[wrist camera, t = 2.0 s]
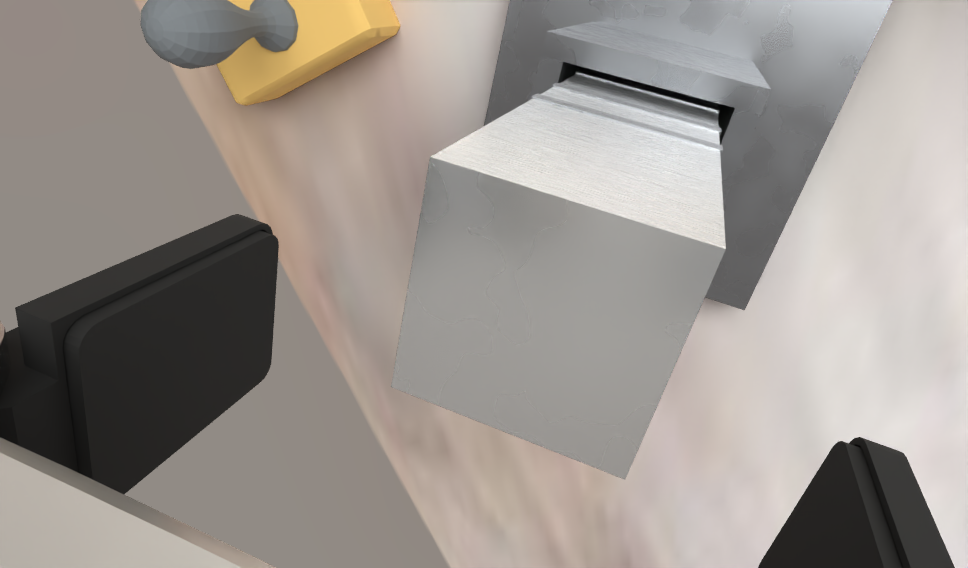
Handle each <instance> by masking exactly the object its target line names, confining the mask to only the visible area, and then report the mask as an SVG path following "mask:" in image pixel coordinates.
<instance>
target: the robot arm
mask: <svg viewBox="0 0 968 568" xmlns="http://www.w3.org/2000/svg"><path fill="white" fill-rule="evenodd" d="M278 248H279V245H278V239H277V238H276V237H275V236H274V235H273V233H272V230H271V228H270V226H269V225H267V224H265V223H262V222H259V221H256V220H253V219H250V218H248V217H245V216H242V215H239V214H236V215H232V216H229V217H227V218H225V219H222V220H220V221H218V222H215V223H213V224H211V225H208V226H206V227H204V228H201V229H199V230H197V231H194V232H192V233H189V234H187V235H185V236H182V237H180V238H178V239H175V240H173V241H171V242H168V243H166V244H164V245H161V246H159V247H157V248H154V249H152V250H150V251H147V252H145V253H143V254H140V255H138V256H135V257H133V258H131V259H128V260H126V261H124V262H122V263H119V264H117V265H114V266H112V267H110V268H107V269H105V270H103V271H100V272H98V273H96V274H93V275H91V276H89V277H86V278H84V279H82V280H79V281H77V282H75V283H72V284H70V285H68V286H65V287H63V288H60V289H58V290H56V291H53V292H51V293H49V294H46V295H44V296H42V297H39V298H37V299H35V300H32V301H30V302H28V303H25V304H23V305H21V306H18V307H16V308H15V309H16V315H17V321H18V327H17V328H15V329H13V330H11V331H9V332H5V327H4V326H3V324H2V323H1V321H0V568H276V567H274V566H272V565H270V564H268V563H266V562H264V561H262V560H260V559H258V558H256V557H254V556H251V555H249V554H247V553H245V552H243V551H241V550H239V549H237V548H235V547H233V546H230V545H229V544H226V543H224V542H222V541H220V540H218V539H216V538H214V537H212V536H210V535H208V534H206V533H203V532H201V531H199V530H197V529H195V528H193V527H191V526H189V525H186V524H185V523H182V522H180V521H178V520H176V519H174V518H172V517H170V516H168V515H166V514H163V513H161V512H159V511H157V510H155V509H153V508H151V507H149V506H147V505H145V504H142V503H140V502H138V501H136V500H134V499H132V498H130V497H128V496H125V495H124V494H125V493H126V492H128V491H129V490H130V489H131V488H132V487H133V486H135V485H136V484H137V483H138V482H140V481H141V480H142V479H143V478H144V477H146V476H147V475H148V474H149V473H151V472H152V471H153V470H154V469H155V468H156V467H158V466H159V465H160V464H162V463H163V462H164V461H165V460H166V459H167V458H169V457H170V456H171V455H172V454H174V453H175V452H176V451H177V450H178V449H180V448H181V447H182V446H183V445H185V444H186V443H187V442H188V441H189V440H191V439H192V438H193V437H194V436H196V435H197V434H198V433H199V432H200V431H202V430H203V429H204V428H205V427H206V426H208V425H209V424H210V423H211V422H212V421H214V420H215V419H216V418H217V417H219V416H220V415H221V414H222V413H223V412H225V411H226V410H227V409H228V408H230V407H231V406H232V405H233V404H234V403H235V402H237V401H238V400H239V399H240V398H242V397H243V396H244V395H245V394H246V393H248V392H249V391H250V390H251V389H253V388H254V387H255V386H256V385H258V384H259V383H260V382H261V381H262V380H263V379H264V378H265V376H266V375H267V373H268V371H269V368H270V365H271V357H272V342H273V326H274V325H273V324H274V311H275V294H276V279H277V263H278ZM758 568H955V567H954V565H953V563H952V560H951V558H950V556H949V554H948V551H947V549H946V547H945V544H944V542H943V540H942V538H941V535H940V533H939V531H938V528H937V526H936V524H935V522H934V519H933V517H932V515H931V512H930V510H929V508H928V506H927V503H926V501H925V499H924V496H923V494H922V492H921V490H920V487H919V485H918V483H917V480H916V478H915V476H914V474H913V471H912V469H911V467H910V464H909V462H908V460H907V458H906V456H905V455H904V453H902V452H900V451H897V450H894V449H892V448H889V447H886V446H883V445H880V444H878V443H875V442H872V441H869V440H866V439H864V438H861V437H858V438H854V439H853V440H852V441H851V442H850V443H849V444H848V443H845V442H843V441H840V442H838V443H836V444H835V445H834V446H833V448H832V449H831V451H830V452H829V454H828V455H827V457H826V459H825V460H824V462H823V463H822V465H821V467H820V468H819V470H818V471H817V473H816V475H815V476H814V478H813V479H812V481H811V483H810V484H809V486H808V487H807V489H806V491H805V492H804V494H803V495H802V497H801V499H800V500H799V502H798V503H797V505H796V507H795V508H794V510H793V511H792V513H791V515H790V516H789V518H788V519H787V521H786V523H785V524H784V526H783V527H782V529H781V531H780V532H779V534H778V535H777V537H776V539H775V540H774V542H773V543H772V545H771V547H770V548H769V550H768V551H767V553H766V555H765V556H764V558H763V559H762V561H761V563H760V565H759V567H758Z"/></svg>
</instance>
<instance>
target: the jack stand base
mask: <svg viewBox="0 0 968 568" xmlns="http://www.w3.org/2000/svg"><path fill="white" fill-rule="evenodd" d="M892 1H893V0H510V3H509V8H508V13H507V18H506V23H505V27H504V32H503V37H502V42H501V47H500V51H499V56H498V61H497V66H496V71H495V76H494V80H493V85H492V90H491V95H490V100H489V104H488V109H487V114H486V119H485V124H484V126H485V125H487V124H489V123H491V122H492V121H494V120H496V119H498V118H499V117H501V116H503V115H505V114H507V113H508V112H510V111H512V110H514V109H515V108H517V107H519V106H521V105H522V104H524V103H526V102H528V101H530V100H531V96H533V95H535V94H537V93H538V94H542V93H544V92H545V91H547V90H549V89H551V88H552V85H553V84H555V83H561V82H563V81H565V80H567V79H568V78H570V77H572V76H574V75H575V73H576V72H577V71H578V70H580V71H582V70H584V69H586V68H589V69H592V70H596V71H600V72H603V73H607V74H611V75H615V76H618V77H622V78H626V79H629V80H633V81H637V82H641V83H644V84H648V85H652V86H655V87H659V88H663V89H667V90H670V91H674V92H678V93H682V94H685V95H689V96H693V97H696V98H700V99H704V100H708V101H711V102H715V103H718V104H717V107H718V108H720V112H719V114H718V124H719V128H721V134H720V137H719V141H720V145H722V146H723V151H722V154H721V156H720V158H721V175H722V193H723V210H724V227H725V244H726V250H725V252H724V255H723V257H722V259H721V261H720V264H719V266H718V268H717V271H716V273H715V275H714V277H713V280H712V282H711V284H710V287H709V289H708V291H707V293H706V296H705V297H706V298H709V299H712V300H715V301H718V302H721V303H724V304H727V305H730V306H733V307H736V308H739V309H742V310H745V308H746V306H747V304H748V302H749V300H750V298H751V296H752V293H753V291H754V289H755V287H756V285H757V283H758V281H759V279H760V277H761V275H762V273H763V270H764V268H765V266H766V264H767V262H768V260H769V258H770V256H771V254H772V252H773V250H774V247H775V245H776V243H777V241H778V239H779V237H780V235H781V233H782V231H783V229H784V227H785V225H786V222H787V220H788V218H789V216H790V214H791V212H792V210H793V208H794V206H795V204H796V202H797V199H798V197H799V195H800V193H801V191H802V189H803V187H804V185H805V183H806V181H807V179H808V176H809V174H810V172H811V170H812V168H813V166H814V164H815V162H816V160H817V158H818V156H819V154H820V151H821V149H822V147H823V145H824V143H825V141H826V139H827V137H828V135H829V133H830V131H831V128H832V126H833V124H834V122H835V120H836V118H837V116H838V114H839V112H840V110H841V108H842V105H843V103H844V101H845V99H846V97H847V95H848V93H849V91H850V89H851V87H852V85H853V82H854V80H855V78H856V76H857V74H858V72H859V70H860V68H861V66H862V64H863V62H864V60H865V57H866V55H867V53H868V51H869V49H870V47H871V45H872V43H873V41H874V39H875V37H876V34H877V32H878V30H879V28H880V26H881V24H882V22H883V20H884V18H885V16H886V14H887V11H888V9H889V7H890V5H891V3H892Z"/></svg>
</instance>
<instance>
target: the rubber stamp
mask: <svg viewBox="0 0 968 568" xmlns="http://www.w3.org/2000/svg"><path fill="white" fill-rule="evenodd" d="M141 28H142V31H143V34H144V37H145V40H146V42H147V43H148V44H149V46H150V47H151V48H152V49H153V51H154V52H155V53H156V54H157V55H158V56H159V57H160V58H162V59H164V60H166V61H168V62H170V63H172V64H175V65H177V66H180V67H182V68H189V69H192V68H199V67H205V66H210V65H215V64H217V66H218V68H219V70H220V72H221V74H222V76H223V78H224V80H225V82H226V84H227V86H228V87H229V89H230V91H231V93H232V95H233V97H234V99H235V101H236V103H239V104H242V105H251V104H255V103H260V102H264V101H268V100H273V99H277V98H279V97H281V96H282V95H284V94H286V93H288V92H290V91H292V90H294V89H295V88H297V87H299V86H301V85H303V84H305V83H307V82H308V81H310V80H312V79H314V78H316V77H318V76H320V75H321V74H323V73H325V72H327V71H329V70H331V69H333V68H335V67H336V66H338V65H340V64H342V63H344V62H346V61H348V60H349V59H351V58H353V57H355V56H357V55H359V54H361V53H362V52H364V51H366V50H368V49H370V48H372V47H374V46H375V45H377V44H379V43H381V42H383V41H385V40H387V39H388V38H390V37H392V36H394V35H396V34H397V32H398V30H399V28H400V23H399V21H398V19H397V16H396V14H395V12H394V10H393V7H392V5H391V3H390V0H148V1H147V2H146V4H145V5H144V7H143V9H142V10H141Z"/></svg>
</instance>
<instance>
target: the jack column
mask: <svg viewBox="0 0 968 568" xmlns="http://www.w3.org/2000/svg"><path fill="white" fill-rule="evenodd" d="M717 104H718V103H715V102H711V101H708V100H704V99H700V98H696V97H693V96H689V95H685V94H682V93H678V92H674V91H670V90H667V89H663V88H659V87H655V86H652V85H648V84H644V83H641V82H637V81H633V80H629V79H626V78H622V77H618V76H615V75H611V74H607V73H603V72H600V71H596V70H592V69H589V68H586V69H584V70H582V71H580V70H578V71H577V72H576V73H575V75H574V76H572V77H570V78H568V79H567V80H565V81H563V82H561V83H555V84H553V85H552V88H551V89H549V90H547V91H545V92H544V93H542V94H538V93H537V94H535V95H533V96H531V100H530V101H528V102H526V103H524V104H522V105H521V106H519V107H517V108H515V109H514V110H512V111H510V112H508V113H507V114H505V115H503V116H501V117H499V118H498V119H496V120H494V121H492V122H491V123H489V124H487V125H485V126H484V127H482V128H480V129H478V130H477V131H475V132H473V133H471V134H469V135H468V136H466V137H464V138H462V139H461V140H459V141H457V142H455V143H454V144H452V145H450V146H448V147H447V148H445V149H443V150H441V151H439V152H438V153H436V154H434V155H432V156H431V157H430V161H429V167H428V173H427V178H426V184H425V190H424V196H423V202H422V208H421V214H420V220H419V226H418V231H417V237H416V243H415V249H414V255H413V261H412V267H411V273H410V279H409V284H408V290H407V296H406V302H405V308H404V314H403V320H402V326H401V332H400V337H399V343H398V349H397V355H396V361H395V367H394V373H393V379H392V384H391V387H392V388H395V389H397V390H400V391H402V392H405V393H407V394H410V395H412V396H415V397H417V398H420V399H423V400H425V401H428V402H430V403H433V404H435V405H438V406H440V407H443V408H445V409H448V410H450V411H453V412H455V413H458V414H460V415H463V416H465V417H468V418H471V419H473V420H476V421H478V422H481V423H483V424H486V425H488V426H491V427H493V428H496V429H498V430H501V431H503V432H506V433H508V434H511V435H514V436H516V437H519V438H521V439H524V440H526V441H529V442H531V443H534V444H536V445H539V446H541V447H544V448H546V449H549V450H551V451H554V452H556V453H559V454H562V455H564V456H567V457H569V458H572V459H574V460H577V461H579V462H582V463H584V464H587V465H589V466H592V467H594V468H597V469H599V470H602V471H604V472H607V473H610V474H612V475H615V476H617V477H620V478H622V479H625V478H626V476H627V474H628V472H629V469H630V467H631V465H632V462H633V460H634V458H635V456H636V453H637V451H638V449H639V446H640V444H641V442H642V440H643V437H644V435H645V433H646V430H647V428H648V426H649V424H650V421H651V419H652V417H653V414H654V412H655V410H656V408H657V405H658V403H659V401H660V398H661V396H662V394H663V392H664V389H665V387H666V385H667V382H668V380H669V378H670V376H671V373H672V371H673V369H674V366H675V364H676V362H677V360H678V357H679V355H680V353H681V350H682V348H683V346H684V344H685V341H686V339H687V337H688V334H689V332H690V330H691V328H692V325H693V323H694V321H695V318H696V316H697V314H698V312H699V309H700V307H701V305H702V302H703V300H704V298H705V296H706V293H707V291H708V289H709V287H710V284H711V282H712V280H713V277H714V275H715V273H716V271H717V268H718V266H719V264H720V261H721V259H722V257H723V255H724V252H725V250H726V244H725V227H724V210H723V193H722V175H721V158H720V156H721V154H722V151H723V146H722V145H720V141H719V137H720V134H721V128H719V124H718V114H719V112H720V108H718V107H717Z"/></svg>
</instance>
